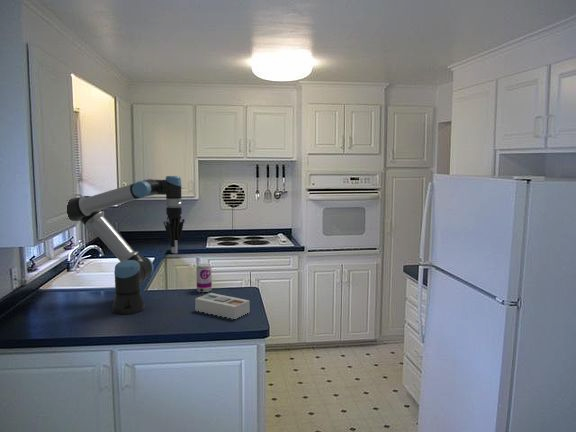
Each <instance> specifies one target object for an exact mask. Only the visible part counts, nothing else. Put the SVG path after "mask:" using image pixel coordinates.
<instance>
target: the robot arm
mask: <svg viewBox="0 0 576 432" xmlns="http://www.w3.org/2000/svg"><path fill="white" fill-rule="evenodd" d="M182 186H183V185H182V178H181V176H179V175H167V176H165V179H152V178H147V179H143V180H139V181H136V182H135V183H132V184H128V185H124V186H121V187H117V188H114V189H111V190H108V191H105V192H100V193H98V194H94V195H91V196H90V195H83V196H80V197H73V198H70V200H69V199H68V200H69V202H68V205H67V214H68V217H69V219H70V220H69V219H68V220H69V221H70V222H71V221H73V222H79V221H80V222H81V223H82V224H83V225H84V226H85V227H87V228H88V227H89V228H91V230H92V231H93V232H94V233H95V234H96V235H97V237H99V239H100V240H101V241H102V242H103V243H104V245H106V246H107V248H108V249H109V250H110V251H111V253H112V254H113V255H114V256H115V257H116V258H117V259H118V260H119V262H118V263H116V265H115V266H114V287H115V297H114V299H113V304H112V305H111V312H113V313H114V314H118V315H129V314H137V313H139V312H142V311H144V310H145V302H144V300H143V299H144V298H143V297H142V294H141V283H143V282H145V281H147V280H148V279H150V277H151V276H152V274H153V273H154V268H155V267H154V264H153V260H151V259H150V258H149V257H147V256H143V255H142V254H141V253H140V251H135V250H134V249H133V248H132V247H131V245H129V243H128V242H127V241H126V240H125V239H124V238H123V236H122V235H121V233H119V232H118V231H117V229H116V228H115V227H114V226H113V225H112V224H111V223H110V221H109V220H108V219H107V218H106V216H105V211H104V210H106V209H109V208H112V207H114V206H115V207H116V206H119V205H121V204H125V203H127V202H132V201H135V200H138V199H143V198H145V197H150V196H156V195H157V196H158V195H159V196H161V195H163V196H165V197H166V198H165V203H166V205H165V206H166V210H165V211H166V215H167V217H166V220H165V221H163V222H162V223H163V225H164V228H165V232H166V237H167V240H169V241H170V247H171V253H172V254H178V252H179V251H178V246H179V241H180V240H181V238H182V234H183V227H184V223H185V220H186V219H185V218H184V219H183V218H182V216H181V215H182V212H183V211H182V209H183V207H181V206H182Z"/></svg>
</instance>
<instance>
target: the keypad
mask: <svg viewBox="0 0 576 432" xmlns="http://www.w3.org/2000/svg"><path fill="white" fill-rule="evenodd" d="M207 297H213V298H214V299H216V298H219V297H226V298H230V300H229V301H226V302H224V303H223V302H218V301H214V299H211V300H209V299H204V298H207ZM194 302H195V303H194V304H195V305H194V306H195V308H194V310H195V312H198V311H199V312H198V313H202V312H204V313H203V314H207V313H208V314H207V315H211V314H213V316H215V315H217V316H216V317H220V316H222V317H221V318H224V317H227V318H226V319H229V318H231V319H230V320H233V319H236V320H237V318H238V319H240V318H242V317H244V316H246V315H248V314H250V313H249V312H251V311H250V302H251V301H250V300H249V299H244V298H239V297H234V296H228V295H223V294H218V293H214V292H208V293H206V294H204V295H202V296H198V297H196V298H195V300H194ZM233 302H237V303H242V304H239V305H233V304H231V303H233ZM247 313H248V314H247ZM245 314H246V315H245ZM243 315H244V316H243ZM241 316H242V317H241ZM239 317H240V318H239Z"/></svg>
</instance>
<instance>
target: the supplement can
mask: <svg viewBox="0 0 576 432" xmlns="http://www.w3.org/2000/svg"><path fill="white" fill-rule="evenodd" d="M212 277H213V276H212V266H211V264H210V263H199V264H197V267H196V291H197V292H198V293H200V292H208V293H210V292H212V291H213V290H212V288H213V287H212V286H213V285H212V284H213V283H212V279H213V278H212ZM209 291H210V292H209Z"/></svg>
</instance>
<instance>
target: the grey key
mask: <svg viewBox="0 0 576 432" xmlns="http://www.w3.org/2000/svg"><path fill="white" fill-rule="evenodd" d="M229 300H230V298H226V297H219V298H216V299H214V301H218V302H223V303H224V302H226V301H229Z"/></svg>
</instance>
